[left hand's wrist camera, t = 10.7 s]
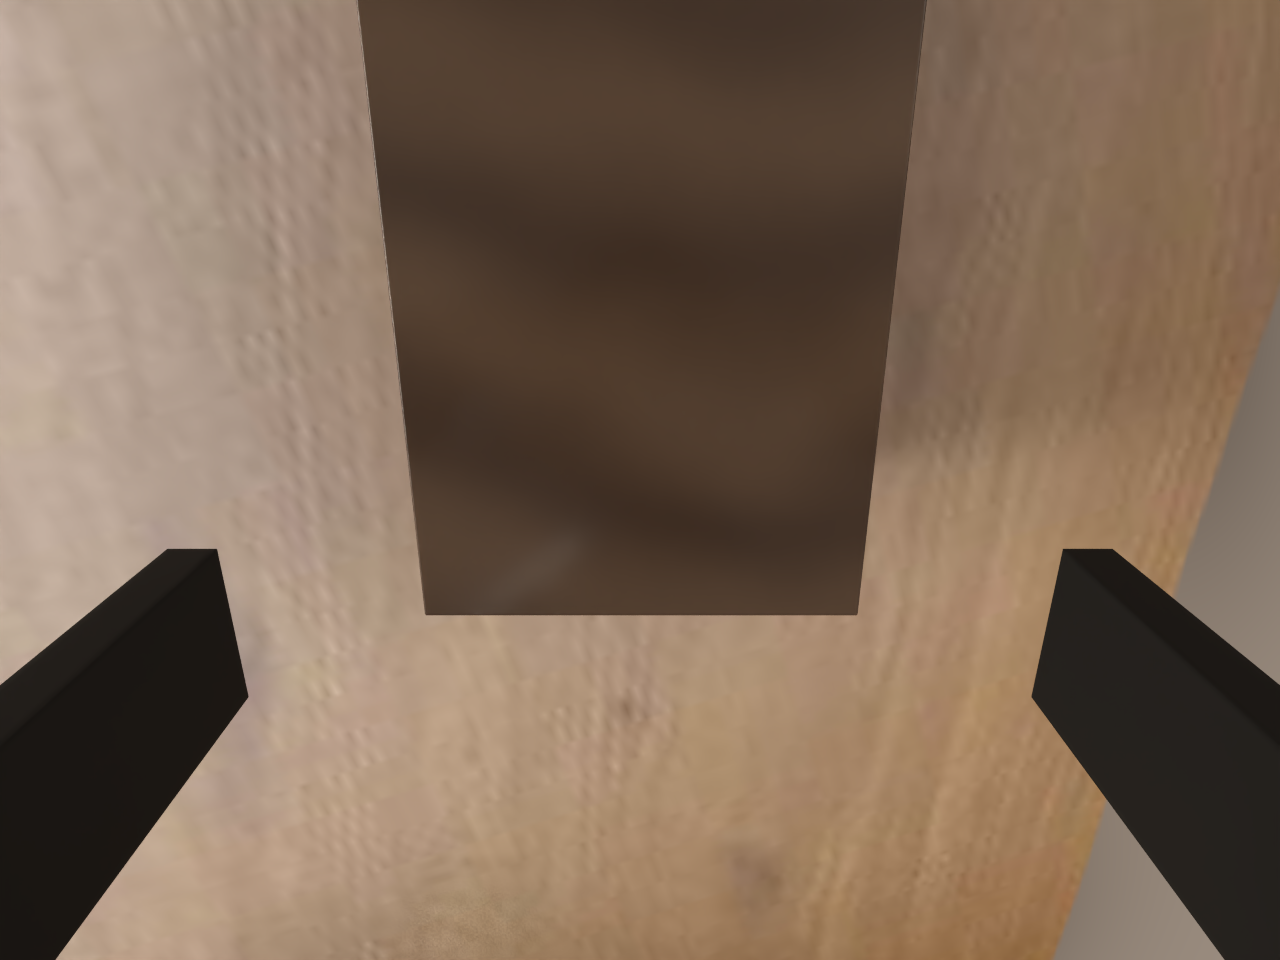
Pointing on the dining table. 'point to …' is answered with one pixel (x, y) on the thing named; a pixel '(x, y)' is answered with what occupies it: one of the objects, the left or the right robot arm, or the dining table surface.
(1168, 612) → the left robot arm
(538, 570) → the cabinet
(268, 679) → the dining table surface
